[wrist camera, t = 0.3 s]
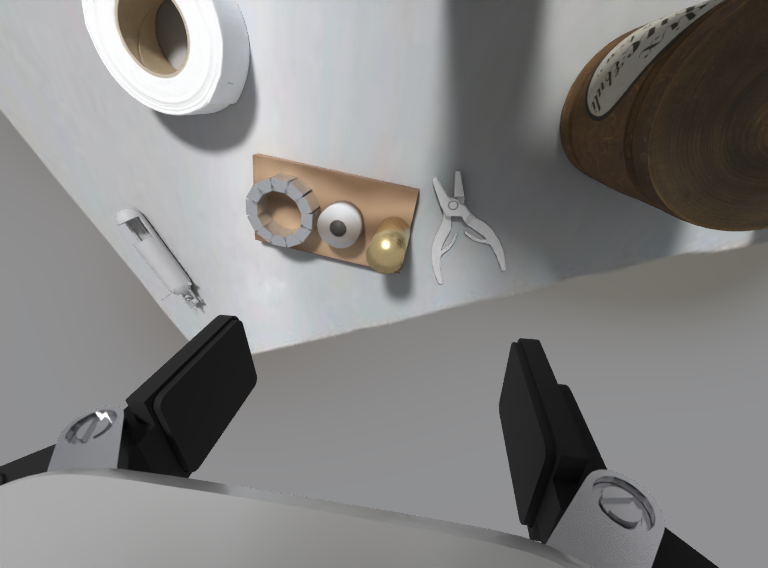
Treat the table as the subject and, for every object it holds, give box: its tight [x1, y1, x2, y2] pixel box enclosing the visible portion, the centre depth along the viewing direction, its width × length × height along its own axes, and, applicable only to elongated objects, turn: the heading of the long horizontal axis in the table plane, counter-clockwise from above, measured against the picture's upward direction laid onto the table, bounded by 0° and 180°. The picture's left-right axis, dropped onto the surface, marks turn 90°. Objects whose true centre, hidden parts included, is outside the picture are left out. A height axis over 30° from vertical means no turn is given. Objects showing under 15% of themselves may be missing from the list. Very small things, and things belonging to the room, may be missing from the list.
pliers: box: [432, 171, 505, 284], centre depth 44 cm, size 10×2×15 cm
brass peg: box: [366, 217, 410, 274], centre depth 41 cm, size 4×4×8 cm
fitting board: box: [253, 153, 419, 274], centre depth 44 cm, size 12×22×5 cm, turn 80°
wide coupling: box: [246, 173, 320, 247], centre depth 44 cm, size 9×9×3 cm
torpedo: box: [115, 208, 199, 309], centre depth 52 cm, size 18×5×6 cm, turn 23°
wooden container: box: [561, 0, 768, 231], centre depth 25 cm, size 15×15×22 cm
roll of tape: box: [82, 0, 250, 115], centre depth 36 cm, size 16×16×6 cm
